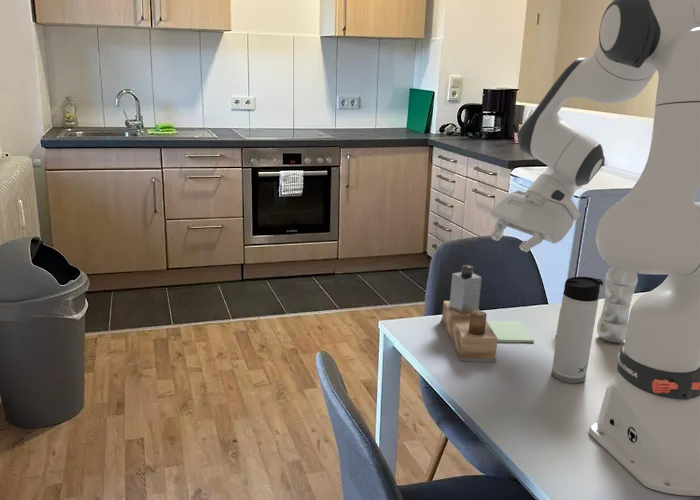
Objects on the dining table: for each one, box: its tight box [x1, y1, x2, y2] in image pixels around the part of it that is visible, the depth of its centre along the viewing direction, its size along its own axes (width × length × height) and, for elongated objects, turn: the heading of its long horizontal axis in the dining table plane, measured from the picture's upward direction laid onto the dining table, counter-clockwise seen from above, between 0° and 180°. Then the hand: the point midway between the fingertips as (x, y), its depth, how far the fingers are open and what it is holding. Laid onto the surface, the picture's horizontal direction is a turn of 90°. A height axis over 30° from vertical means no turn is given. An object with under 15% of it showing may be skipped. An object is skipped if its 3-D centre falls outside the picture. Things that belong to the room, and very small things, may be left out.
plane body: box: [440, 300, 498, 363], centre depth 136 cm, size 21×7×9 cm, turn 3°
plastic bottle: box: [596, 267, 639, 344], centre depth 137 cm, size 6×7×20 cm
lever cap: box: [449, 264, 483, 315], centre depth 139 cm, size 4×4×10 cm
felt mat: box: [486, 320, 535, 344], centre depth 142 cm, size 10×10×1 cm
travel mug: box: [551, 276, 604, 384], centre depth 120 cm, size 6×7×20 cm
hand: (507, 244), depth 142 cm, fingers open, 8 cm apart
